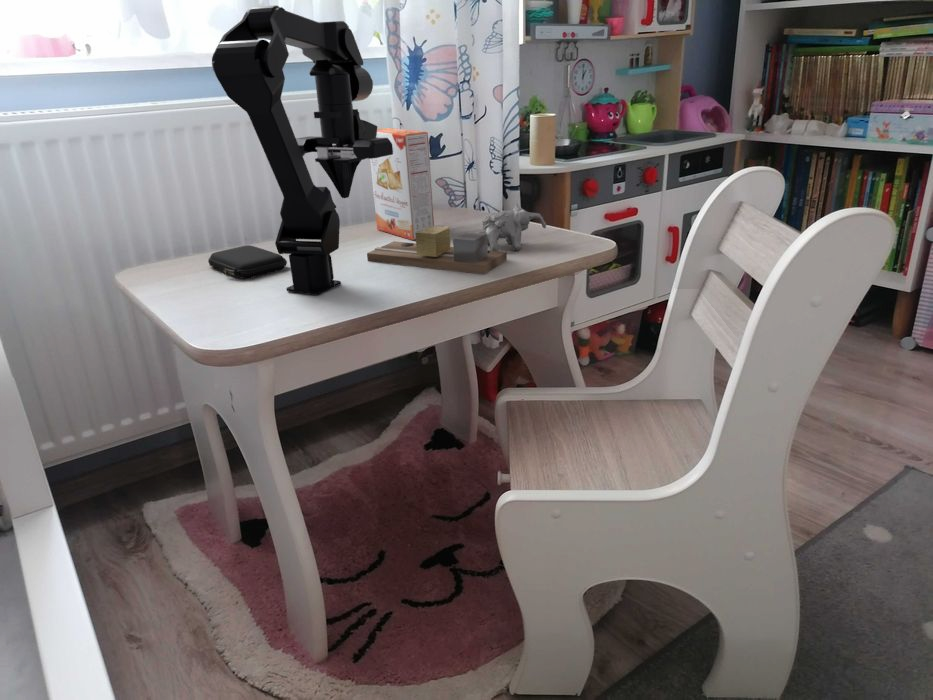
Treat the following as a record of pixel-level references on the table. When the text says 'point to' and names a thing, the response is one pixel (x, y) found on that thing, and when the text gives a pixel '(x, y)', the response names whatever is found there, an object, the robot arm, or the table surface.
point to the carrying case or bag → (247, 261)
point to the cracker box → (403, 184)
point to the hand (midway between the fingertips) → (345, 197)
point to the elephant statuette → (508, 226)
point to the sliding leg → (433, 241)
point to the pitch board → (444, 255)
